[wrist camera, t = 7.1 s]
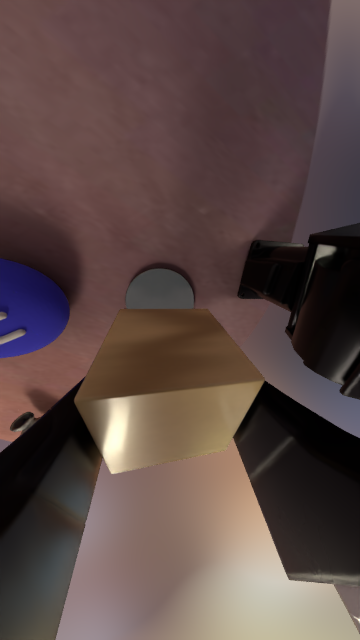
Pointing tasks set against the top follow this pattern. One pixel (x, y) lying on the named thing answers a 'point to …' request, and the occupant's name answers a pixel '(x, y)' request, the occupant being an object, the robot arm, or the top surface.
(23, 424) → the vase
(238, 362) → the block
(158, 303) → the coaster
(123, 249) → the top surface
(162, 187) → the top surface
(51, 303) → the decorative object
